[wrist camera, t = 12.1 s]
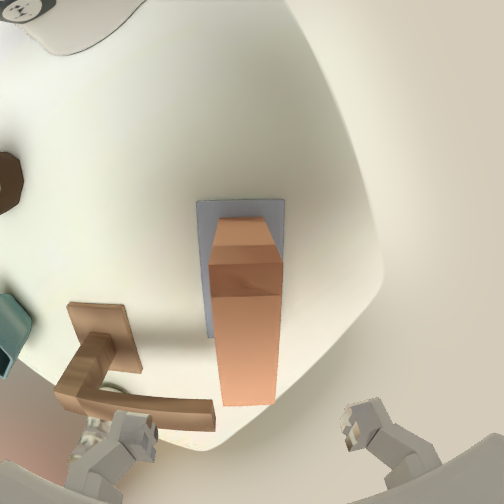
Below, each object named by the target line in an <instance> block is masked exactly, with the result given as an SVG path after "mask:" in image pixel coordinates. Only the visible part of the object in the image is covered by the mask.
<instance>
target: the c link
mask: <svg viewBox="0 0 504 504" xmlns="http://www.w3.org/2000/svg"><path fill="white" fill-rule="evenodd" d="M208 270H209V282H210V294H211V306H212V316H213V327H214V336H215V345H216V354H217V363H218V371H219V379H220V387H221V395H222V402H223V406H253V405H269V404H275V394H276V381H277V368H278V354H279V339H280V322H281V304H282V283H283V261H282V258H281V256H280V254H279V252H278V249H277V247H276V245H275V242H274V240H273V238H272V236H271V234H270V231H269V229H268V227H267V225H266V222H265V220H264V218H263V217H227V218H219V220H218V224H217V228H216V233H215V237H214V241H213V246H212V250H211V254H210V259H209V263H208Z"/></svg>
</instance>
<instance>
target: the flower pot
mask: <svg viewBox="0 0 504 504" xmlns="http://www.w3.org/2000/svg"><path fill="white" fill-rule="evenodd" d="M31 324H32V319H31V317H30V316H29V315H28V314H27V313H26V312H25V311H24V310H23V308H22V307H21V306H20V305H19V304H18V302H17V301H16V300H15V299H14V297H13V296H12V295H9V294H0V377H1V378H3V379H4V380H5V379H6V377H7V375H8V373H9V371H10V369H11V368H12V366H13V364H14V363H15V361H16V359H17V357H18V355H19V353H20V351H21V349H22V347H23V346H24V344H25V342H26V340H27V338H28V336H29V333H30V330H31Z"/></svg>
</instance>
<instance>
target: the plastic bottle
mask: <svg viewBox="0 0 504 504" xmlns="http://www.w3.org/2000/svg"><path fill="white" fill-rule="evenodd" d="M100 390H106V391H112V392H119V393H122V392H121V391H119V390H117V389H114V388H111V387H103V388H100ZM111 423H112V421H108V420H103V419H99V418H94V417H90V416H88V419H87V422H86V426H85V428H84V430H83V433H82V435H81V437H80V440H79V441H78V443H77V445H76V447H75V449H74V450H73V452H72V454H71V455H70V457H69V459H68V469H70V466H71V464H72V463H74V462H75V461H76V460H78V459H79V458H80V457H81V456H83V455H84V454H85V453H87V452H88V451H89V450H90V449H92V448H93V447H94V446H95V445H97V444H98V443H99V442H100V441H102V440H103V439H107V437H108V433H109V430H110V427H111Z"/></svg>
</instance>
